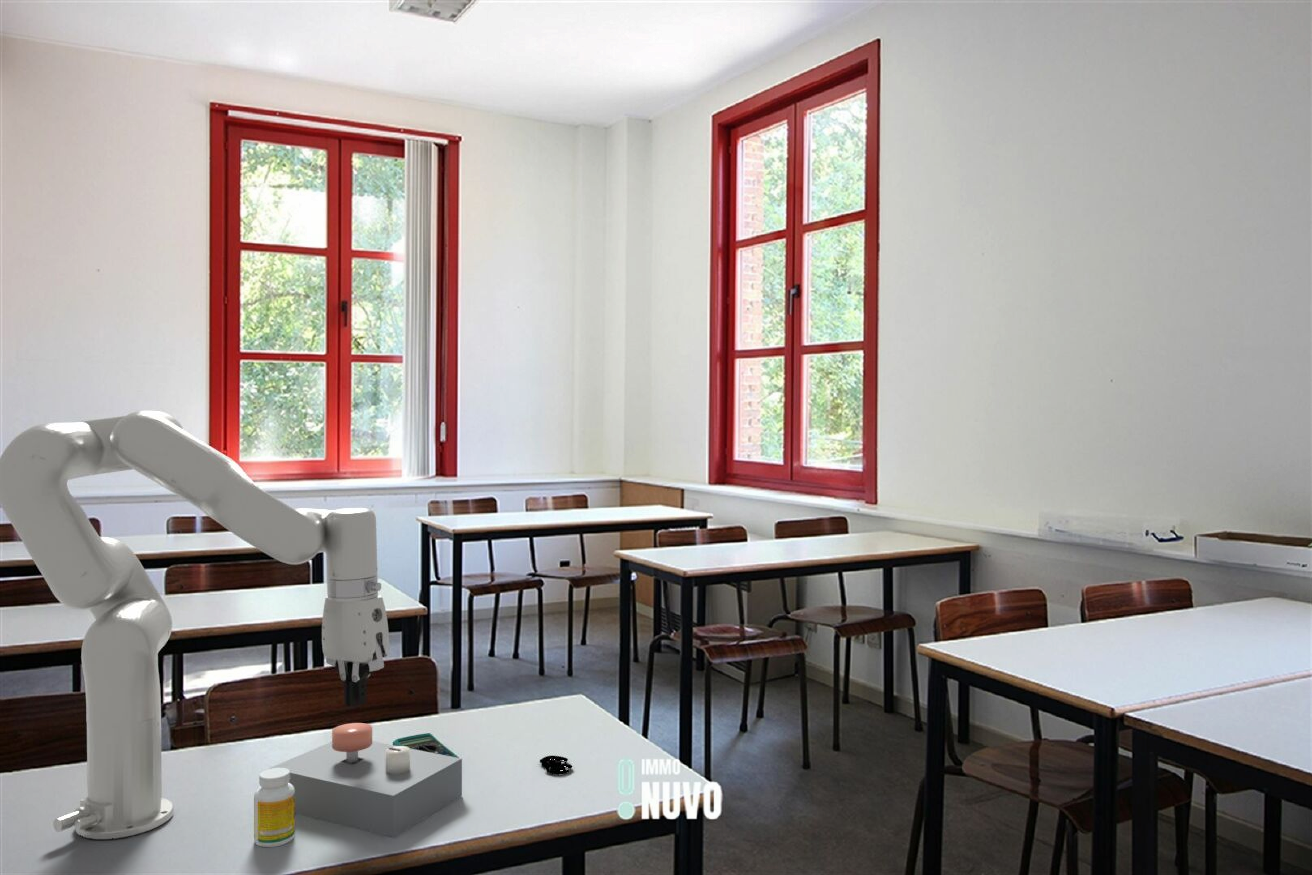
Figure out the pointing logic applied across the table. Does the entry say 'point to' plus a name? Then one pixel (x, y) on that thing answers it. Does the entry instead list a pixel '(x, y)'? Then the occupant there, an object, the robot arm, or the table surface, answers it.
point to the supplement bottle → (274, 808)
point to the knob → (397, 759)
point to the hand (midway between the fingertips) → (355, 703)
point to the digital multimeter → (424, 744)
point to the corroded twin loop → (555, 764)
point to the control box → (372, 787)
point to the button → (352, 739)
